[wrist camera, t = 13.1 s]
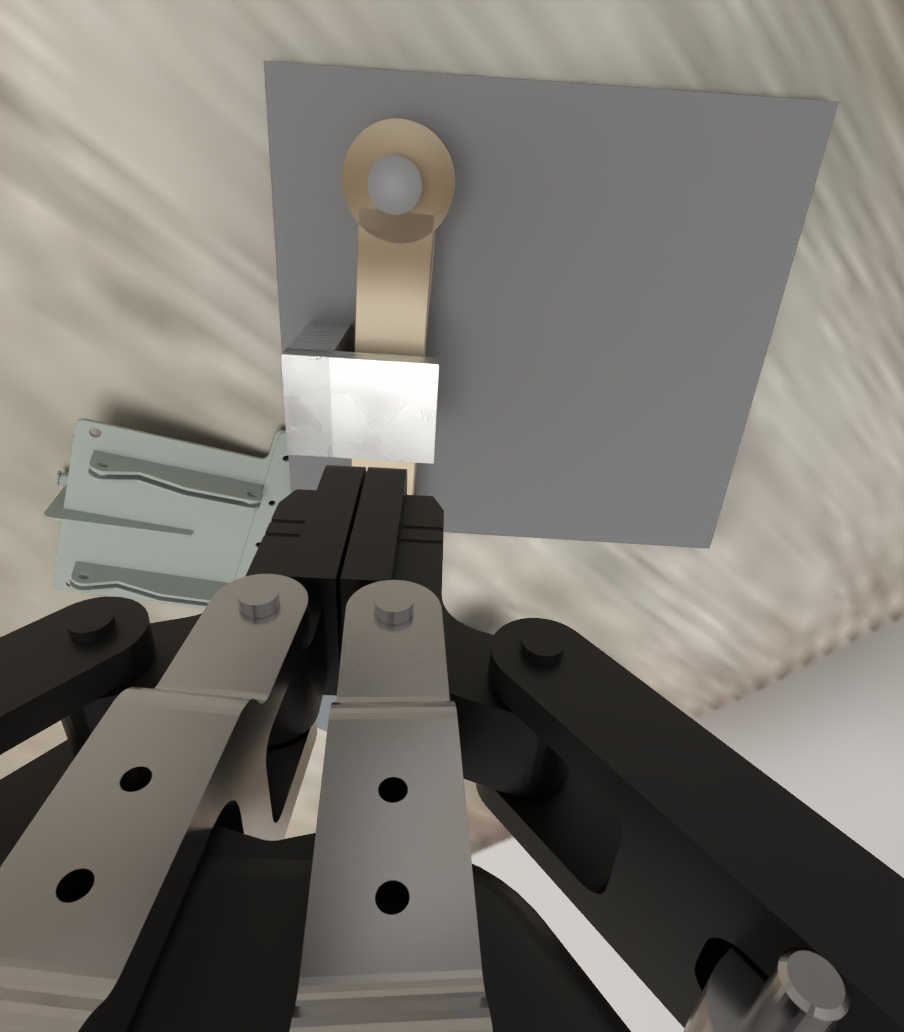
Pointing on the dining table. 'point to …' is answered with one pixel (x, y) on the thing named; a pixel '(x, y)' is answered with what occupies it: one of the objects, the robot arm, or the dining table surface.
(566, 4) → the dining table surface
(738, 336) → the base plate
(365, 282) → the brass latch lever
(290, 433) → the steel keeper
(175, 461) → the metal bracket
